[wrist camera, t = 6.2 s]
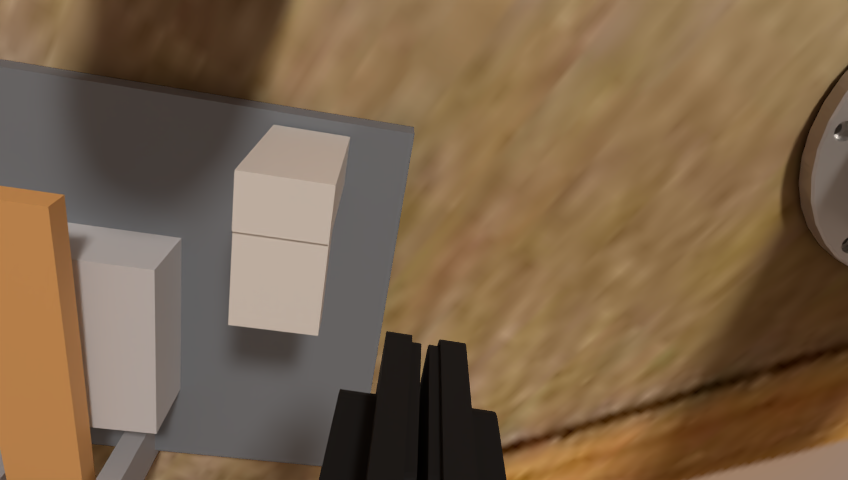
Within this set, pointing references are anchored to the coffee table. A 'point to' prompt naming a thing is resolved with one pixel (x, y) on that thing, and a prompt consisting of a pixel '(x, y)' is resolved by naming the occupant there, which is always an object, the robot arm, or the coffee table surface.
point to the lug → (285, 228)
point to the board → (196, 264)
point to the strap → (40, 344)
